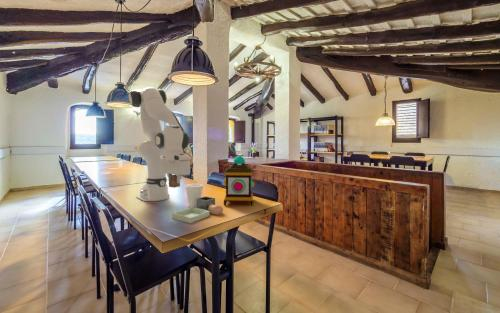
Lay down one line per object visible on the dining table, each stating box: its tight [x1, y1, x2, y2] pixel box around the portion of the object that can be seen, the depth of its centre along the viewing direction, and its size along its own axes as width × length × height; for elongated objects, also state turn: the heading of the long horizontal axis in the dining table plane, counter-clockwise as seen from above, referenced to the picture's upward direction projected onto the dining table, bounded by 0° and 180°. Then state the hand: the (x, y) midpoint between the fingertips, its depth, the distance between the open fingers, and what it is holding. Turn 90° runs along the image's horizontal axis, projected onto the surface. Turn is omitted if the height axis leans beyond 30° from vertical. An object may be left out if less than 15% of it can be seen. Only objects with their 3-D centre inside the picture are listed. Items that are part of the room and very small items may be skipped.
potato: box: [208, 204, 224, 216], centre depth 127 cm, size 6×5×5 cm
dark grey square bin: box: [196, 196, 216, 211], centre depth 133 cm, size 7×7×7 cm
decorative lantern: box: [223, 155, 256, 207], centre depth 150 cm, size 20×20×30 cm
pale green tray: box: [171, 207, 210, 224], centre depth 121 cm, size 13×13×3 cm
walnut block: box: [168, 174, 181, 189], centre depth 125 cm, size 4×4×6 cm
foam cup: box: [185, 183, 204, 208], centre depth 140 cm, size 10×9×13 cm
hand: (174, 182), depth 125 cm, fingers closed on walnut block, 4 cm apart
